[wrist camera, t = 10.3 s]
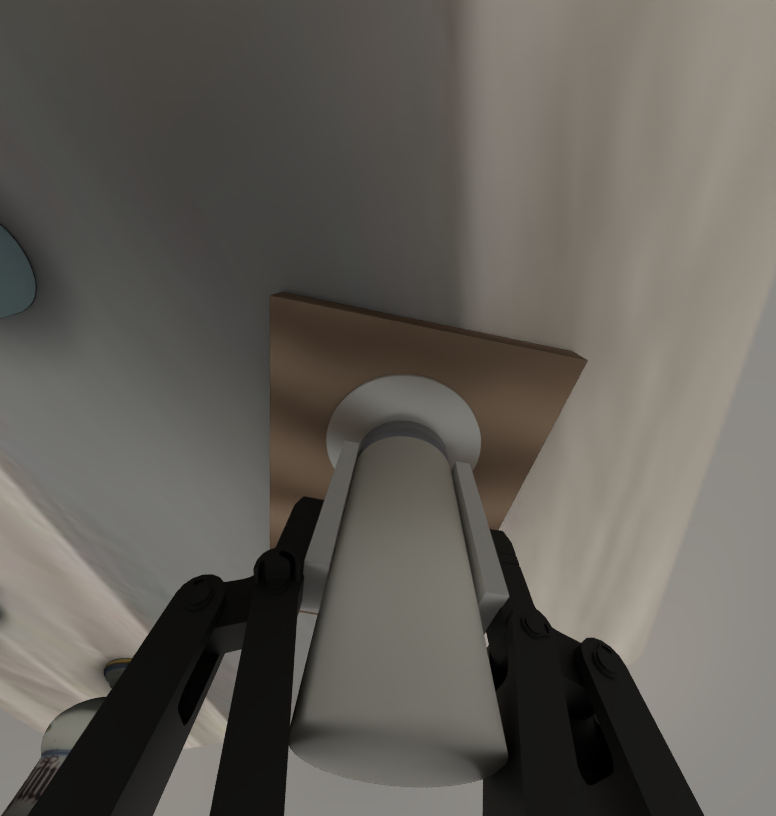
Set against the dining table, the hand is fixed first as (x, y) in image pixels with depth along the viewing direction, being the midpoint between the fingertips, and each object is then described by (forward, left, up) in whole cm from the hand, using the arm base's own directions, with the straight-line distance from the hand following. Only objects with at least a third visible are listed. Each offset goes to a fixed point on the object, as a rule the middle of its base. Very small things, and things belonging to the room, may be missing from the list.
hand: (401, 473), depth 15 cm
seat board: (+7, 0, -4) cm, 8 cm away
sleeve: (0, 0, -1) cm, 1 cm away
